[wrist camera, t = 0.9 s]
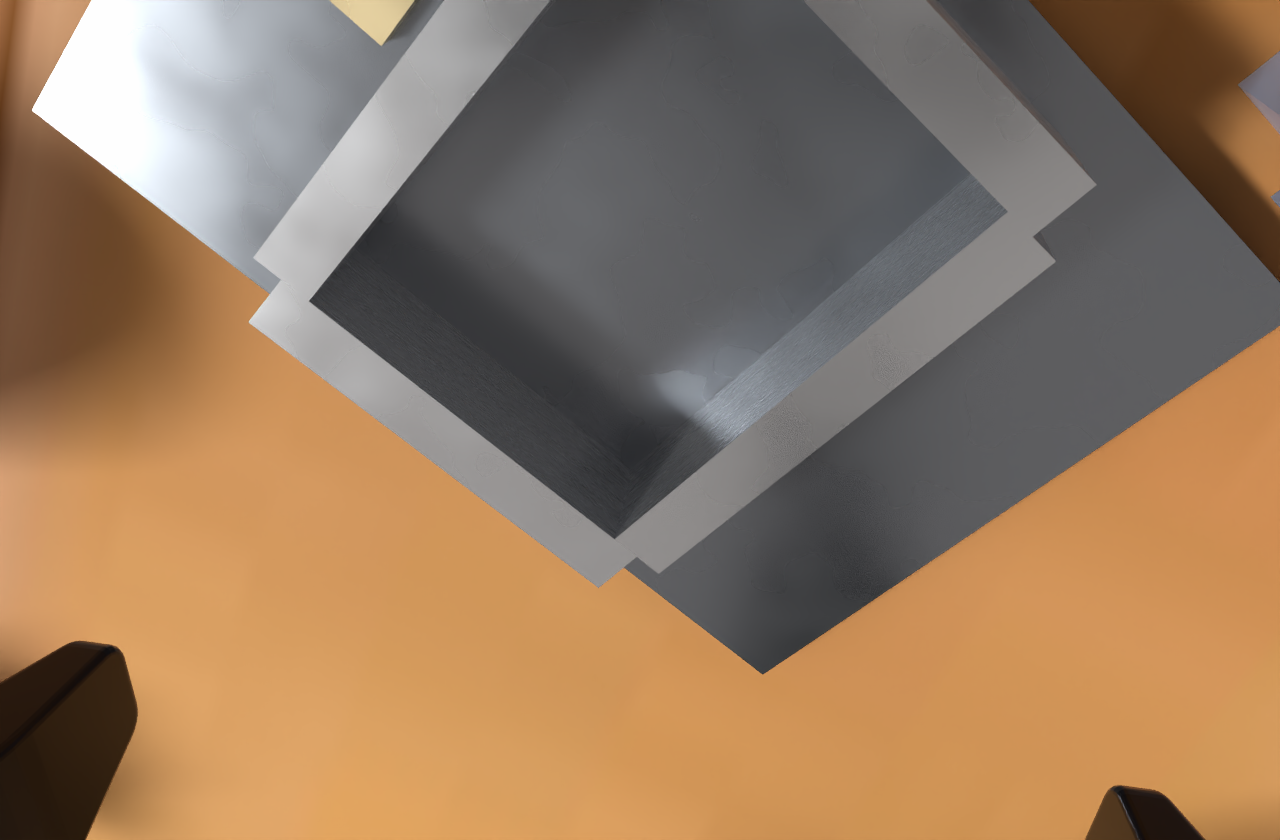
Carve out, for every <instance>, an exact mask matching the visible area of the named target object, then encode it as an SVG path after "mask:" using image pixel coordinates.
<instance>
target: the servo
mask: <svg viewBox="0 0 1280 840" xmlns="http://www.w3.org/2000/svg"><path fill="white" fill-rule="evenodd" d="M1238 86H1239V87H1240V88H1241V89H1242V90H1243V92H1244V93H1245V94H1246V95H1247V96H1248V97H1249V99H1250V100H1251V101H1252V102H1253V103H1254V105H1255V106H1256V107H1257V108H1258V109H1259V110H1260V112H1261V113H1262V114H1263V115H1264V116H1265V118H1266V119H1267V120H1268V121H1269V122H1270V123H1271V125H1272V126H1273V127H1274V128H1275V129H1276V131H1277V132H1278V133H1279V134H1280V51H1279V52H1278V53H1277V54H1275V55H1274V56H1273V57H1272V58H1270V59H1269V60H1268V61H1267V62H1265V63H1264V64H1263V65H1262V66H1260V67H1259V68H1258V69H1257V70H1255V71H1254V72H1253V73H1252V74H1250V75H1249V76H1248V77H1247V78H1245V79H1244V80H1243V81H1242V82H1241V83H1239V84H1238ZM1271 198H1272V199H1273V200H1274V202H1275V203H1276V204H1277V205H1278V206H1279V207H1280V190H1279V191H1278V192H1276V193H1275V194H1274V195H1272V196H1271Z"/></svg>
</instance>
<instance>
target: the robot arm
mask: <svg viewBox="0 0 1280 840" xmlns="http://www.w3.org/2000/svg"><path fill="white" fill-rule="evenodd" d="M137 716H138V709H137V702H136V699H135V695H134V691H133V687H132V684H131V680H130V676H129V672H128V669H127V665H126V661H125V657H124V655H123V653H122V652H121V651H120V649H119V648H118V647H116V646H113V645H109V644H101V643H94V642H87V641H74V642H71V643H69V644H66V645H64V646H62V647H61V648H59V649H57V650H56V651H54V652H52V653H50V654H49V655H47V656H45V657H44V658H42V659H40V660H38V661H37V662H35V663H33V664H32V665H30V666H28V667H26V668H25V669H23V670H21V671H20V672H18V673H16V674H14V675H13V676H11V677H9V678H7V679H6V680H4V681H2V682H1V683H0V840H86V838H87V836H88V834H89V832H90V829H91V827H92V825H93V823H94V820H95V818H96V816H97V814H98V812H99V809H100V807H101V805H102V803H103V800H104V798H105V796H106V794H107V791H108V789H109V787H110V785H111V782H112V780H113V778H114V776H115V773H116V771H117V769H118V767H119V764H120V762H121V760H122V758H123V755H124V753H125V751H126V749H127V746H128V744H129V742H130V740H131V738H132V735H133V733H134V730H135V726H136V723H137ZM1085 840H1205V839H1204V837H1203V836H1202V835H1201V834H1200V833H1199V832H1198V831H1197V830H1196V829H1195V827H1194V826H1193V825H1192V824H1191V823H1190V822H1189V821H1188V820H1187V818H1186V817H1185V816H1184V815H1183V814H1182V813H1181V812H1180V811H1179V809H1178V808H1177V807H1176V806H1175V805H1174V804H1173V803H1172V802H1171V801H1170V800H1169V799H1168V798H1167V797H1166V796H1165V795H1163V794H1162V793H1160V792H1158V791H1155V790H1151V789H1144V788H1136V787H1129V786H1122V785H1117V786H1113V787H1112V788H1110V789H1109V790H1108V791H1107V793H1106V794H1105V796H1104V798H1103V801H1102V803H1101V805H1100V807H1099V809H1098V812H1097V814H1096V816H1095V818H1094V821H1093V823H1092V825H1091V827H1090V830H1089V832H1088V834H1087V836H1086V838H1085Z"/></svg>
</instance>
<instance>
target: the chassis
mask: <svg viewBox="0 0 1280 840" xmlns="http://www.w3.org/2000/svg"><path fill="white" fill-rule="evenodd" d="M32 111H33V112H35V113H36V114H37V115H39V116H40V117H41V118H42V119H44V120H45V121H46V122H48V123H49V124H50V125H52V126H53V127H54V128H55V129H57V130H58V131H59V132H61V133H62V134H63V135H64V136H66V137H67V138H68V139H70V140H71V141H72V142H74V143H75V144H76V145H77V146H79V147H80V148H81V149H83V150H84V151H85V152H86V153H88V154H89V155H90V156H92V157H93V158H94V159H96V160H97V161H98V162H99V163H101V164H102V165H103V166H105V167H106V168H107V169H109V170H110V171H111V172H112V173H114V174H115V175H116V176H118V177H119V178H120V179H121V180H123V181H124V182H125V183H127V184H128V185H129V186H131V187H132V188H133V189H134V190H136V191H137V192H138V193H140V194H141V195H142V196H143V197H145V198H146V199H147V200H149V201H150V202H151V203H153V204H154V205H155V206H156V207H158V208H159V209H160V210H162V211H163V212H164V213H166V214H167V215H168V216H169V217H171V218H172V219H173V220H175V221H176V222H177V223H178V224H180V225H181V226H182V227H184V228H185V229H186V230H188V231H189V232H190V233H191V234H193V235H194V236H195V237H197V238H198V239H199V240H200V241H202V242H203V243H204V244H206V245H207V246H208V247H210V248H211V249H212V250H213V251H215V252H216V253H217V254H219V255H220V256H221V257H223V258H224V259H225V260H226V261H228V262H229V263H230V264H232V265H233V266H234V267H235V268H237V269H238V270H239V271H241V272H242V273H243V274H245V275H246V276H247V277H248V278H250V279H251V280H252V281H254V282H255V283H256V284H257V285H259V286H260V287H261V288H263V289H264V290H265V291H267V292H268V293H269V294H270V295H269V296H268V297H267V299H266V300H265V301H264V303H263V304H262V305H261V307H260V308H259V309H258V310H257V312H256V313H255V314H254V316H253V317H252V318H251V319H250V321H249V323H250V324H251V325H253V326H254V327H255V328H257V329H258V330H259V331H261V332H262V333H263V334H265V335H266V336H267V337H269V338H270V339H271V340H272V341H274V342H275V343H276V344H278V345H279V346H280V347H282V348H283V349H284V350H286V351H287V352H288V353H290V354H291V355H292V356H294V357H295V358H296V359H298V360H299V361H300V362H301V363H303V364H304V365H305V366H307V367H308V368H309V369H311V370H312V371H313V372H315V373H316V374H317V375H319V376H320V377H321V378H323V379H324V380H325V381H327V382H328V383H329V384H330V385H332V386H333V387H334V388H336V389H337V390H338V391H340V392H341V393H342V394H344V395H345V396H346V397H348V398H349V399H350V400H352V401H353V402H354V403H356V404H357V405H358V406H360V407H361V408H362V409H363V410H365V411H366V412H367V413H369V414H370V415H371V416H373V417H374V418H375V419H377V420H378V421H379V422H381V423H382V424H383V425H385V426H386V427H387V428H389V429H390V430H391V431H392V432H394V433H395V434H396V435H398V436H399V437H400V438H402V439H403V440H404V441H406V442H407V443H408V444H410V445H411V446H412V447H414V448H415V449H416V450H418V451H419V452H420V453H421V454H423V455H424V456H425V457H427V458H428V459H429V460H431V461H432V462H433V463H435V464H436V465H437V466H439V467H440V468H441V469H443V470H444V471H445V472H447V473H448V474H449V475H450V476H452V477H453V478H454V479H456V480H457V481H458V482H460V483H461V484H462V485H464V486H465V487H466V488H468V489H469V490H470V491H472V492H473V493H474V494H476V495H477V496H478V497H480V498H481V499H482V500H483V501H485V502H486V503H487V504H489V505H490V506H491V507H493V508H494V509H495V510H497V511H498V512H499V513H501V514H502V515H503V516H505V517H506V518H507V519H509V520H510V521H511V522H512V523H514V524H515V525H516V526H518V527H519V528H520V529H522V530H523V531H524V532H526V533H527V534H528V535H530V536H531V537H532V538H534V539H535V540H536V541H538V542H539V543H540V544H541V545H543V546H544V547H545V548H547V549H548V550H549V551H551V552H552V553H553V554H555V555H556V556H557V557H559V558H560V559H561V560H563V561H564V562H565V563H567V564H568V565H569V566H570V567H572V568H573V569H574V570H576V571H577V572H578V573H580V574H581V575H582V576H584V577H585V578H586V579H588V580H589V581H590V582H592V583H593V584H594V585H596V586H597V587H598V588H599V587H600V586H601V585H603V584H604V583H605V582H606V581H608V580H609V579H610V578H611V577H613V576H614V575H615V574H616V573H617V572H619V571H620V570H621V569H622V568H625V569H627V570H628V571H629V572H631V573H632V574H633V575H634V576H636V577H637V578H638V579H640V580H641V581H642V582H644V583H645V584H646V585H647V586H649V587H650V588H651V589H653V590H654V591H655V592H656V593H658V594H659V595H660V596H662V597H663V598H664V599H666V600H667V601H668V602H669V603H671V604H672V605H673V606H675V607H676V608H677V609H679V610H680V611H681V612H682V613H684V614H685V615H686V616H688V617H689V618H690V619H691V620H693V621H694V622H695V623H697V624H698V625H699V626H701V627H702V628H703V629H704V630H706V631H707V632H708V633H710V634H711V635H712V636H713V637H715V638H716V639H717V640H719V641H720V642H721V643H723V644H724V645H725V646H726V647H728V648H729V649H730V650H732V651H733V652H734V653H736V654H737V655H738V656H739V657H741V658H742V659H743V660H745V661H746V662H747V663H748V664H750V665H751V666H752V667H754V668H755V669H756V670H758V671H759V672H760V673H761V674H764V673H766V672H767V671H769V670H770V669H772V668H773V667H775V666H776V665H778V664H779V663H781V662H782V661H784V660H785V659H787V658H788V657H790V656H791V655H793V654H794V653H796V652H797V651H798V650H800V649H801V648H803V647H804V646H806V645H807V644H809V643H810V642H812V641H813V640H815V639H816V638H818V637H819V636H821V635H822V634H824V633H825V632H827V631H828V630H830V629H831V628H833V627H834V626H836V625H837V624H838V623H840V622H841V621H843V620H844V619H846V618H847V617H849V616H850V615H852V614H853V613H855V612H856V611H858V610H859V609H861V608H862V607H864V606H865V605H867V604H868V603H870V602H871V601H873V600H874V599H875V598H877V597H878V596H880V595H881V594H883V593H884V592H886V591H887V590H889V589H890V588H892V587H893V586H895V585H896V584H898V583H899V582H901V581H902V580H904V579H905V578H907V577H908V576H910V575H911V574H913V573H914V572H915V571H917V570H918V569H920V568H921V567H923V566H924V565H926V564H927V563H929V562H930V561H932V560H933V559H935V558H936V557H938V556H939V555H941V554H942V553H944V552H945V551H947V550H948V549H950V548H951V547H953V546H954V545H955V544H957V543H958V542H960V541H961V540H963V539H964V538H966V537H967V536H969V535H970V534H972V533H973V532H975V531H976V530H978V529H979V528H981V527H982V526H984V525H985V524H987V523H988V522H990V521H991V520H992V519H994V518H995V517H997V516H998V515H1000V514H1001V513H1003V512H1004V511H1006V510H1007V509H1009V508H1010V507H1012V506H1013V505H1015V504H1016V503H1018V502H1019V501H1021V500H1022V499H1024V498H1025V497H1027V496H1028V495H1030V494H1031V493H1032V492H1034V491H1035V490H1037V489H1038V488H1040V487H1041V486H1043V485H1044V484H1046V483H1047V482H1049V481H1050V480H1052V479H1053V478H1055V477H1056V476H1058V475H1059V474H1061V473H1062V472H1064V471H1065V470H1067V469H1068V468H1069V467H1071V466H1072V465H1074V464H1075V463H1077V462H1078V461H1080V460H1081V459H1083V458H1084V457H1086V456H1087V455H1089V454H1090V453H1092V452H1093V451H1095V450H1096V449H1098V448H1099V447H1101V446H1102V445H1104V444H1105V443H1107V442H1108V441H1109V440H1111V439H1112V438H1114V437H1115V436H1117V435H1118V434H1120V433H1121V432H1123V431H1124V430H1126V429H1127V428H1129V427H1130V426H1132V425H1133V424H1135V423H1136V422H1138V421H1139V420H1141V419H1142V418H1144V417H1145V416H1147V415H1148V414H1149V413H1151V412H1152V411H1154V410H1155V409H1157V408H1158V407H1160V406H1161V405H1163V404H1164V403H1166V402H1167V401H1169V400H1170V399H1172V398H1173V397H1175V396H1176V395H1178V394H1179V393H1181V392H1182V391H1184V390H1185V389H1186V388H1188V387H1189V386H1191V385H1192V384H1194V383H1195V382H1197V381H1198V380H1200V379H1201V378H1203V377H1204V376H1206V375H1207V374H1209V373H1210V372H1212V371H1213V370H1215V369H1216V368H1218V367H1219V366H1221V365H1222V364H1224V363H1225V362H1226V361H1228V360H1229V359H1231V358H1232V357H1234V356H1235V355H1237V354H1238V353H1240V352H1241V351H1243V350H1244V349H1246V348H1247V347H1249V346H1250V345H1252V344H1253V343H1255V342H1256V341H1258V340H1259V339H1261V338H1262V337H1264V336H1265V335H1266V334H1268V333H1269V332H1271V331H1272V330H1274V329H1275V328H1277V327H1278V326H1280V282H1279V281H1278V280H1277V279H1276V278H1275V277H1274V276H1273V274H1272V273H1271V272H1270V271H1269V270H1268V269H1267V268H1266V267H1265V266H1264V264H1263V263H1262V262H1261V261H1260V260H1259V259H1258V258H1257V257H1256V255H1255V254H1254V253H1253V252H1252V251H1251V250H1250V249H1249V248H1248V246H1247V245H1246V244H1245V243H1244V242H1243V241H1242V240H1241V239H1240V237H1239V236H1238V235H1237V234H1236V233H1235V232H1234V231H1233V230H1232V228H1231V227H1230V226H1229V225H1228V224H1227V223H1226V222H1225V221H1224V219H1223V218H1222V217H1221V216H1220V215H1219V214H1218V213H1217V212H1216V211H1215V209H1214V208H1213V207H1212V206H1211V205H1210V204H1209V203H1208V202H1207V200H1206V199H1205V198H1204V197H1203V196H1202V195H1201V194H1200V193H1199V191H1198V190H1197V189H1196V188H1195V187H1194V186H1193V185H1192V184H1191V182H1190V181H1189V180H1188V179H1187V178H1186V177H1185V176H1184V175H1183V173H1182V172H1181V171H1180V170H1179V169H1178V168H1177V167H1176V166H1175V164H1174V163H1173V162H1172V161H1171V160H1170V159H1169V158H1168V157H1167V155H1166V154H1165V153H1164V152H1163V151H1162V150H1161V149H1160V148H1159V147H1158V145H1157V144H1156V143H1155V142H1154V141H1153V140H1152V139H1151V138H1150V136H1149V135H1148V134H1147V133H1146V132H1145V131H1144V130H1143V129H1142V127H1141V126H1140V125H1139V124H1138V123H1137V122H1136V121H1135V120H1134V118H1133V117H1132V116H1131V115H1130V114H1129V113H1128V112H1127V111H1126V109H1125V108H1124V107H1123V106H1122V105H1121V104H1120V103H1119V102H1118V100H1117V99H1116V98H1115V97H1114V96H1113V95H1112V94H1111V93H1110V92H1109V90H1108V89H1107V88H1106V87H1105V86H1104V85H1103V84H1102V83H1101V81H1100V80H1099V79H1098V78H1097V77H1096V76H1095V75H1094V74H1093V72H1092V71H1091V70H1090V69H1089V68H1088V67H1087V66H1086V65H1085V63H1084V62H1083V61H1082V60H1081V59H1080V58H1079V57H1078V56H1077V54H1076V53H1075V52H1074V51H1073V50H1072V49H1071V48H1070V47H1069V45H1068V44H1067V43H1066V42H1065V41H1064V40H1063V39H1062V38H1061V37H1060V35H1059V34H1058V33H1057V32H1056V31H1055V30H1054V29H1053V28H1052V26H1051V25H1050V24H1049V23H1048V22H1047V21H1046V20H1045V19H1044V17H1043V16H1042V15H1041V14H1040V13H1039V12H1038V11H1037V10H1036V8H1035V7H1034V6H1033V5H1032V4H1031V3H1030V2H1029V1H1028V0H92V1H91V2H90V4H89V6H88V8H87V10H86V12H85V13H84V15H83V17H82V19H81V21H80V23H79V24H78V26H77V28H76V30H75V32H74V34H73V35H72V37H71V39H70V41H69V43H68V45H67V47H66V48H65V50H64V52H63V54H62V56H61V58H60V59H59V61H58V63H57V65H56V67H55V69H54V70H53V72H52V74H51V76H50V78H49V80H48V81H47V83H46V85H45V87H44V89H43V91H42V92H41V94H40V96H39V98H38V100H37V102H36V103H35V105H34V107H33V109H32Z"/></svg>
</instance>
